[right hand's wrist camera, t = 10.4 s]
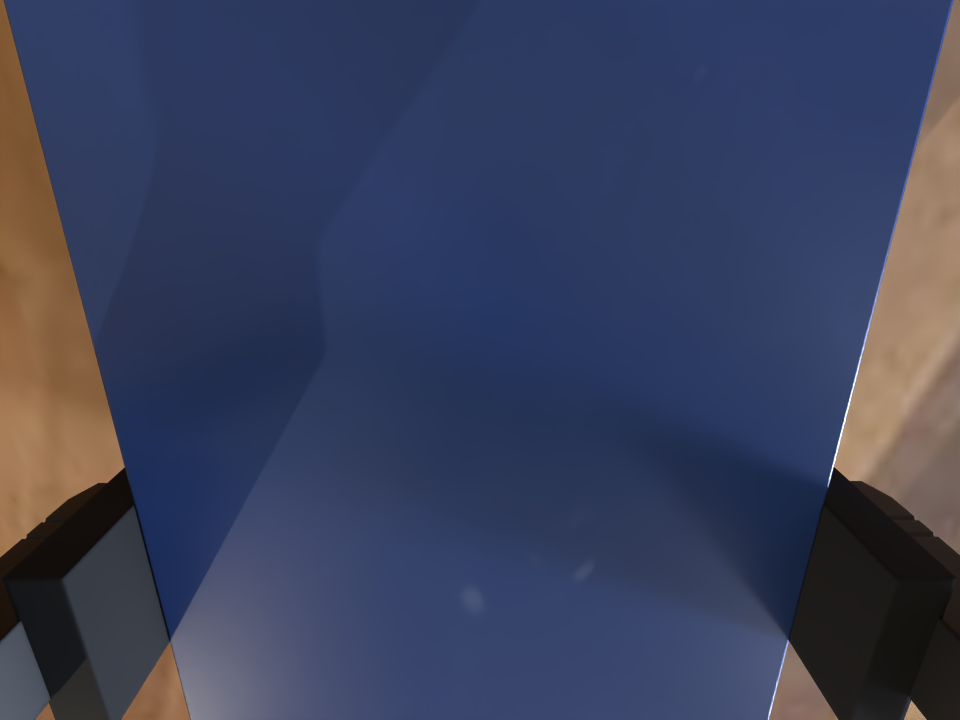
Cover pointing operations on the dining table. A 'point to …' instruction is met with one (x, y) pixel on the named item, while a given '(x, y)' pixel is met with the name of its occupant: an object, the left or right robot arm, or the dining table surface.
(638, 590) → the cabinet
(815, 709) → the dining table surface
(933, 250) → the dining table surface
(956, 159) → the dining table surface
